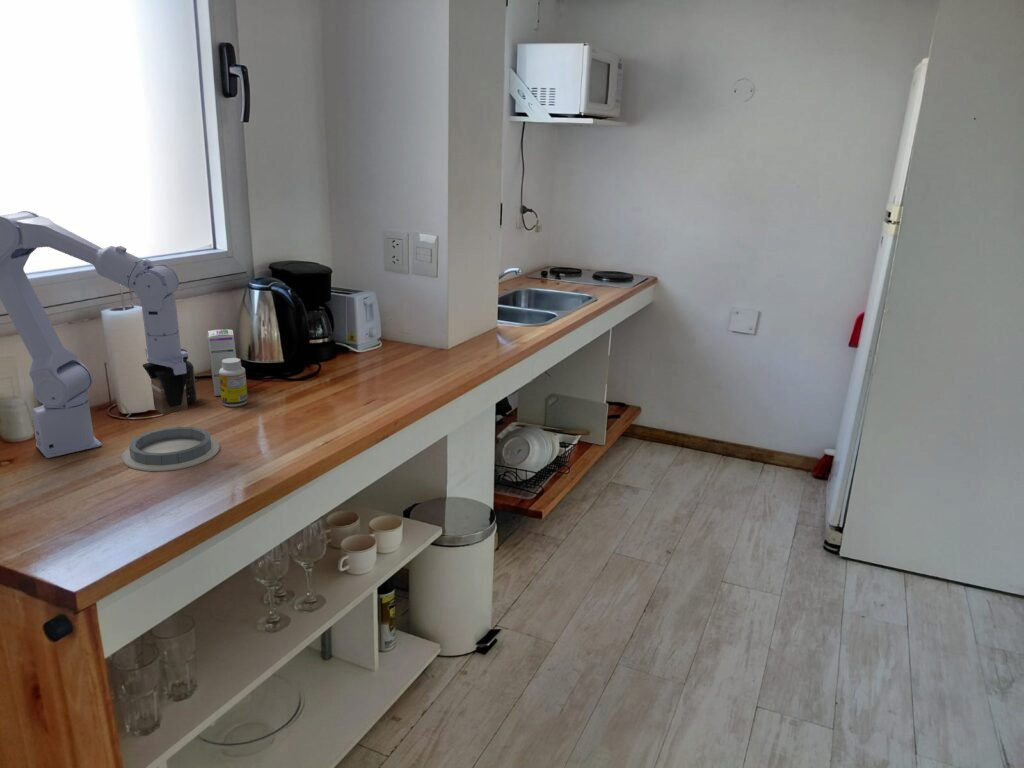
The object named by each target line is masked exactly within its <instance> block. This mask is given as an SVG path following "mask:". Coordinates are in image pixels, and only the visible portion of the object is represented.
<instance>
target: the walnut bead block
mask: <svg viewBox="0 0 1024 768" xmlns="http://www.w3.org/2000/svg"><path fill="white" fill-rule="evenodd" d="M150 380H151V381H150V382H151V383H150V386H151V387H150V388H151V390H152V398H153V406H154V410H156V411H157V412H159V413H160V414H162V415H164V416H166V415H169V414H173V413H179V412H183V411H187V410H189V408H188V407H189V406H187V398H186V385H185V387H184V392H183V399H182V404H181V405H178V406H174V407H170V406H169V404H168V402H167V399H166V395H165V391H164V388H163V385H162V383H161V381H160V379H159V378H158V377H156V378H150Z"/></svg>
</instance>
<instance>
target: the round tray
mask: <svg viewBox="0 0 1024 768" xmlns="http://www.w3.org/2000/svg"><path fill="white" fill-rule="evenodd" d="M220 445H221V444H220V442H219V440H217V439H215V438H214V437H212V436H211V433H210V432H209V431H207V430H206V429H203V428H200V427H199V428H198V427H193V426H192V427H191V426H174V427H164V428H163V427H162V428H159V429H155V430H150V431H147V432H145V433H142V434H140V435H138V436H136V437H135V438H134V439H132V440H131V441H130V442H129V446H128V448H127V449H125V450H124V451H123V453H122V456H121V460H122V463H123V464H124V465H125V466H127V467H128V468H131V469H134V470H137V471H144V472H168V471H169V472H170V471H176V470H181V469H187V468H191V467H194V466H197V465H200V464H204V463H205V462H207V461H209V460H212V459H213V458H214V457H215V456H216V455H217V454H219V451H220V449H221V448H220V447H221V446H220Z"/></svg>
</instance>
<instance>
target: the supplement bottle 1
mask: <svg viewBox="0 0 1024 768" xmlns="http://www.w3.org/2000/svg"><path fill="white" fill-rule="evenodd" d="M181 351H185V352H187V353H188V351H187V349H184V348H181ZM188 359H189V355H188V356H187V357H183V361H184V363H186V368H188V369H189V370H190V375H189V376H188V378H187V381H186V383H185V385H186V398H187V407H189V406H191V405H193V404H195V403H196V402H197V398H198V397H197V387H196V379H195V368H194V365H193V363H192V362H191V361H189V360H188Z"/></svg>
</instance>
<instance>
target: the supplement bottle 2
mask: <svg viewBox="0 0 1024 768" xmlns="http://www.w3.org/2000/svg"><path fill="white" fill-rule="evenodd" d="M246 373H247V372H246V368H245V367H243V366H242V361H241V358H238V357H237V358H227V359H223V360H222V368H221V369H220V370H219V379H220V389H221V396H220V397H221V403H222V405H223V406H226V407H229V408H230V407H231V408H234V407H242V406H244V405H245V404H247V403H248V397H249V396H248V387H247V386H248V385H247V375H246Z"/></svg>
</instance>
